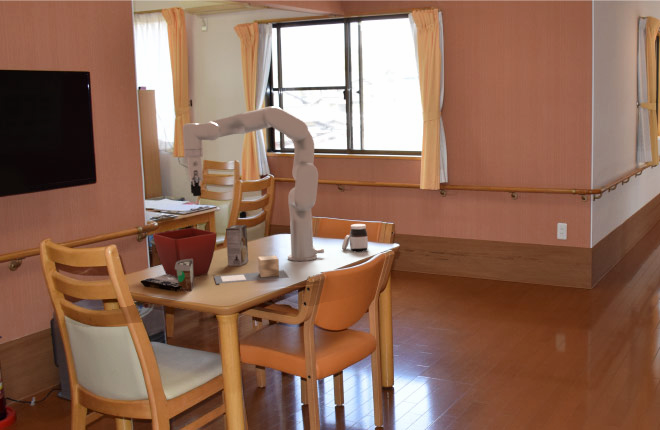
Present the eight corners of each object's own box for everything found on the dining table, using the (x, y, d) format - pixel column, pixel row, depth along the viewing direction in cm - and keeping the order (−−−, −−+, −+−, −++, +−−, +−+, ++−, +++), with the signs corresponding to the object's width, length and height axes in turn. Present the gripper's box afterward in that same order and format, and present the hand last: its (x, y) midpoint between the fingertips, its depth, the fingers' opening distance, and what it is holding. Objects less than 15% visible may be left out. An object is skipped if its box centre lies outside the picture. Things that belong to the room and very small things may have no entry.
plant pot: (220, 273, 298) (217, 232, 296) (178, 282, 286) (175, 239, 283) (195, 266, 312) (192, 227, 310) (154, 274, 300) (151, 233, 297)
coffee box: (234, 261, 320) (232, 224, 318) (248, 261, 319) (246, 224, 317) (227, 265, 312) (225, 228, 309) (242, 266, 310) (240, 228, 308)
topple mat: (283, 271, 298) (283, 270, 298) (289, 278, 285) (289, 277, 285) (213, 277, 291) (213, 275, 291) (216, 284, 279) (216, 283, 279)
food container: (178, 284, 281) (176, 259, 280) (194, 284, 282) (192, 258, 280) (174, 293, 269) (172, 266, 268) (191, 292, 270) (189, 265, 268)
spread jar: (369, 251, 331) (368, 226, 329) (344, 253, 329) (343, 227, 327) (364, 246, 343) (363, 222, 341) (340, 248, 341) (339, 223, 339)
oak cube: (276, 272, 294) (275, 255, 293) (279, 276, 287) (278, 258, 286) (258, 274, 292) (258, 256, 291) (261, 277, 286) (260, 260, 285)
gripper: (204, 154, 296) (207, 196, 299) (200, 151, 313) (203, 191, 316) (185, 155, 295) (188, 197, 297) (182, 152, 311) (185, 192, 314)
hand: (196, 194), depth 306 cm, fingers open, 9 cm apart
